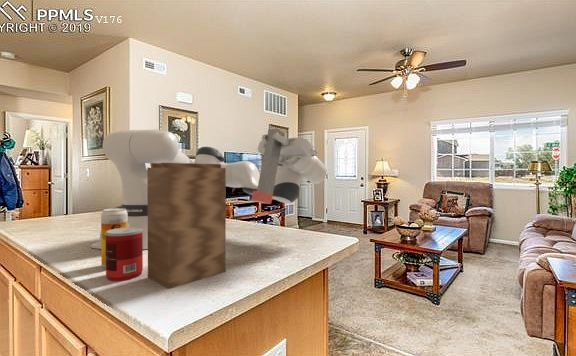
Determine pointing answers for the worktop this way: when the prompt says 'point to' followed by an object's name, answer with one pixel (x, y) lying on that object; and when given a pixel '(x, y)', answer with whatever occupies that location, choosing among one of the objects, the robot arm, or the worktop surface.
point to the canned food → (124, 253)
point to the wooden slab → (186, 222)
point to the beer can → (111, 226)
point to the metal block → (268, 169)
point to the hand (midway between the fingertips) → (268, 135)
